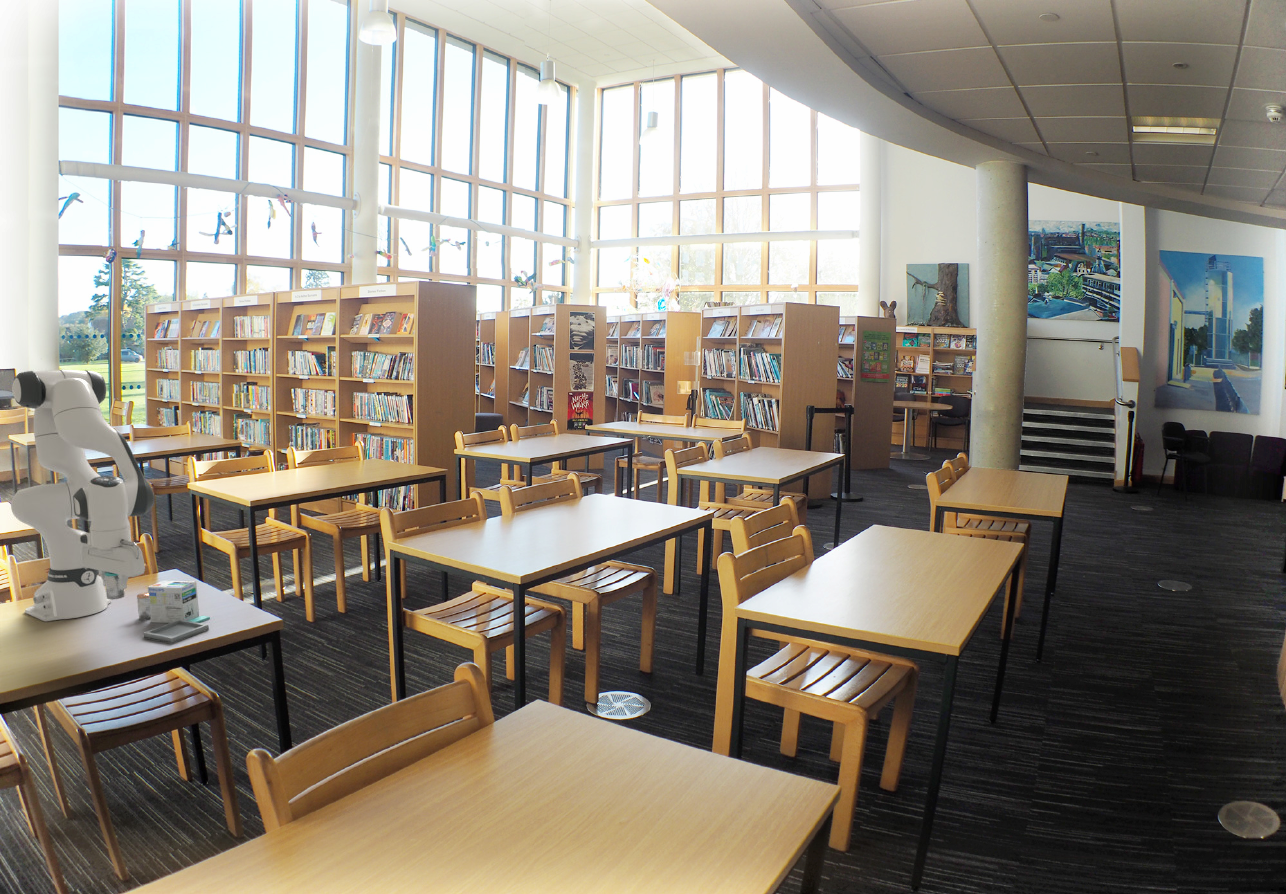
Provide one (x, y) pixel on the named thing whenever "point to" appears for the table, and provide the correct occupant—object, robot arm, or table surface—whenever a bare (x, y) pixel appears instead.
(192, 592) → the light bulb box
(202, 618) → the label tile
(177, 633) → the tray
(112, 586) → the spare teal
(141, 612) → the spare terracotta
